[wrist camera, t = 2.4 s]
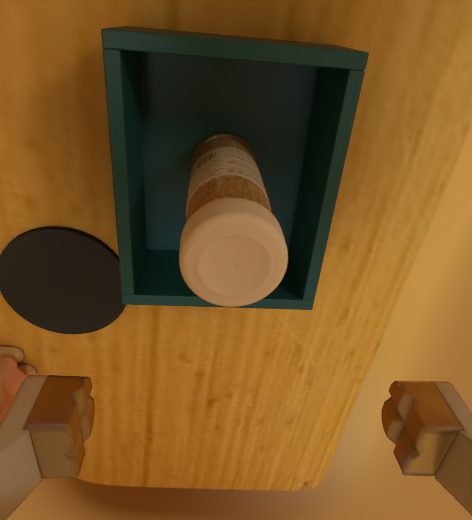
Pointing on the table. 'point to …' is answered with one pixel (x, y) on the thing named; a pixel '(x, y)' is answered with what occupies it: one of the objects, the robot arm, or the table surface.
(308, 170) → the basin
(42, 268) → the pad
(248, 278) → the sprinkles bottle
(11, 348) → the grandmother figurine
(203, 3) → the table surface
